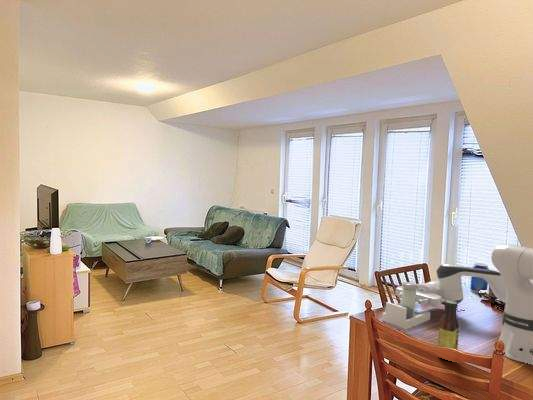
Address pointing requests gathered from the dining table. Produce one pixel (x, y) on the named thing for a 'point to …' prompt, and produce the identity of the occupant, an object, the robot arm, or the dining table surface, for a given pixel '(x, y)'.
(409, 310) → the pusher
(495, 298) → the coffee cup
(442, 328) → the sauce bottle
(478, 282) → the beer can
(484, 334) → the dining table surface
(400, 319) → the pusher lane
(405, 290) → the jar
